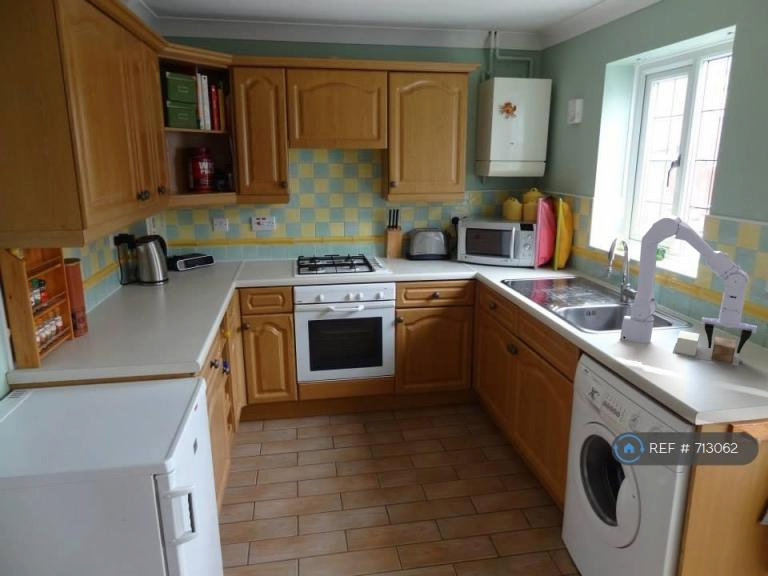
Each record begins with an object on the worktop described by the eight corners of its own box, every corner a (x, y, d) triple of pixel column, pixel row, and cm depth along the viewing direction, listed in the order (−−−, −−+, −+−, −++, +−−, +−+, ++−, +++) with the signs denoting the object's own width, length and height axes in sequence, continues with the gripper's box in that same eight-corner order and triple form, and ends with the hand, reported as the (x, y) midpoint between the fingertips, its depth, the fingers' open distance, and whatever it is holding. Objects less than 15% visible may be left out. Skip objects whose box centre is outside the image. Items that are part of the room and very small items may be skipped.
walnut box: (711, 359, 167) (714, 344, 166) (712, 351, 174) (715, 336, 173) (732, 363, 164) (735, 347, 163) (732, 355, 171) (735, 340, 170)
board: (671, 356, 171) (672, 353, 171) (675, 346, 181) (676, 342, 181) (738, 369, 162) (738, 366, 162) (738, 358, 172) (739, 354, 171)
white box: (675, 352, 172) (677, 337, 171) (677, 344, 179) (680, 330, 178) (695, 356, 169) (697, 341, 168) (697, 348, 176) (699, 333, 175)
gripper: (703, 307, 165) (696, 348, 169) (760, 315, 158) (751, 358, 161) (705, 302, 171) (698, 342, 174) (759, 310, 164) (751, 352, 167)
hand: (723, 350), depth 168 cm, fingers open, 7 cm apart
